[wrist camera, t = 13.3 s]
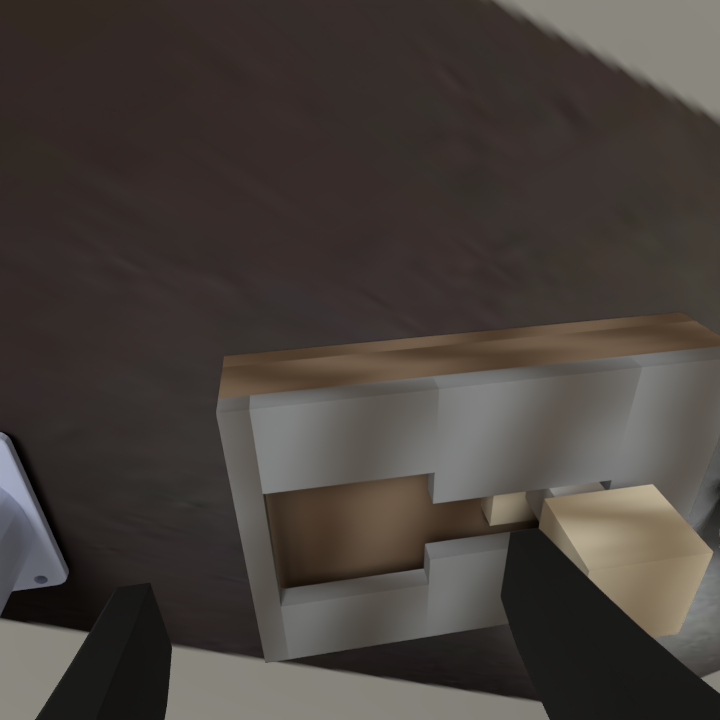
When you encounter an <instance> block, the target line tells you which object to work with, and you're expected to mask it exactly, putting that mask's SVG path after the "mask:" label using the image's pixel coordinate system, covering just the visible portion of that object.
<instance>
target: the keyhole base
mask: <svg viewBox="0 0 720 720" xmlns="http://www.w3.org/2000/svg"><path fill="white" fill-rule="evenodd" d="M216 415H217V420H218V425H219V430H220V435H221V440H222V445H223V450H224V455H225V460H226V465H227V471H228V476H229V481H230V486H231V491H232V496H233V501H234V506H235V511H236V516H237V521H238V526H239V531H240V536H241V541H242V546H243V551H244V556H245V561H246V566H247V572H248V577H249V582H250V587H251V592H252V597H253V602H254V607H255V612H256V617H257V622H258V627H259V632H260V637H261V642H262V647H263V652H264V657H265V662H266V663H268V662H274V661H281V660H287V659H293V658H299V657H305V656H312V655H318V654H324V653H330V652H336V651H343V650H349V649H355V648H361V647H367V646H374V645H380V644H386V643H392V642H398V641H405V640H411V639H417V638H423V637H429V636H436V635H442V634H448V633H454V632H460V631H467V630H473V629H479V628H485V627H491V626H498V625H504V624H509V622H508V619H507V616H506V613H505V610H504V607H503V603H502V600H501V597H500V596H501V589H502V583H503V576H504V570H505V564H506V557H507V551H508V544H509V538H510V532H515V531H522V530H529V529H536V528H539V523H540V522H539V521H538V519H536V520H528V521H521V522H514V523H507V524H500V525H492V526H490V525H489V523H488V520H487V518H486V516H485V514H484V512H483V510H482V508H481V497H488V496H496V495H503V494H511V493H518V492H526V491H533V490H541V489H549V488H556V487H564V486H571V485H579V484H586V483H594V482H600V484H601V485H602V486H603V487H604V489H605V490H613V489H620V488H628V487H635V486H642V485H650V484H653V485H654V486H655V487H656V488H657V490H658V491H659V492H660V493H661V494H662V495H663V496H664V497H665V499H666V500H667V501H668V502H669V503H670V504H671V505H672V506H673V507H674V509H675V510H676V511H677V512H678V513H679V514H680V515H681V516H682V518H683V519H684V520H685V521H686V522H687V521H688V518H689V515H690V513H691V510H692V508H693V505H694V502H695V500H696V497H697V495H698V492H699V489H700V487H701V484H702V482H703V479H704V476H705V474H706V471H707V468H708V466H709V463H710V461H711V458H712V455H713V453H714V450H715V448H716V445H717V442H718V440H719V437H720V336H718V335H717V334H715V333H714V332H712V331H710V330H709V329H707V328H706V327H704V326H702V325H701V324H699V323H698V322H696V321H694V320H693V319H691V318H690V317H688V316H686V315H685V314H683V313H682V312H679V313H669V314H658V315H648V316H637V317H627V318H617V319H606V320H596V321H585V322H575V323H564V324H554V325H544V326H533V327H523V328H512V329H502V330H491V331H481V332H471V333H460V334H450V335H439V336H429V337H418V338H408V339H398V340H387V341H377V342H366V343H356V344H345V345H335V346H325V347H314V348H304V349H293V350H283V351H272V352H262V353H252V354H241V355H231V356H224V361H223V368H222V375H221V383H220V390H219V397H218V404H217V411H216Z"/></svg>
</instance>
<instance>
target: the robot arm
mask: <svg viewBox="0 0 720 720" xmlns="http://www.w3.org/2000/svg"><path fill="white" fill-rule="evenodd" d="M68 574H69V570H68V567H67V565H66V563H65V561H64V558H63V556H62V554H61V552H60V549H59V547H58V545H57V543H56V540H55V538H54V536H53V534H52V531H51V529H50V527H49V525H48V522H47V520H46V518H45V516H44V513H43V511H42V509H41V507H40V504H39V502H38V500H37V498H36V495H35V493H34V491H33V489H32V486H31V484H30V482H29V480H28V477H27V475H26V473H25V471H24V468H23V466H22V464H21V462H20V459H19V457H18V455H17V453H16V450H15V448H14V446H13V444H12V441H11V440H10V438H9V437H8V436H7V435H5V434H4V433H1V432H0V615H1V613H2V611H3V609H4V607H5V605H6V602H7V600H8V598H9V596H10V594H11V592H12V591H18V590H25V589H32V588H39V587H46V586H54V585H59V584H62V583H63V582H65V581H66V579H67V576H68ZM500 597H501V600H502V603H503V607H504V610H505V613H506V616H507V619H508V622H509V625H510V628H511V631H512V634H513V637H514V640H515V643H516V646H517V648H518V651H519V653H520V655H521V657H522V660H523V662H524V664H525V666H526V669H527V671H528V673H529V675H530V677H531V680H532V682H533V684H534V686H535V689H536V691H537V693H538V695H539V697H540V699H541V702H542V704H543V706H544V708H545V710H546V713H547V714H548V717H549V719H550V720H720V693H718V692H717V691H716V690H714V689H713V688H712V687H711V686H709V685H708V684H707V683H706V682H704V681H703V680H702V679H701V678H699V677H698V676H697V675H696V674H695V673H693V672H692V671H691V670H690V669H689V668H687V667H686V666H685V665H684V664H682V663H681V662H680V661H679V660H678V659H677V658H675V657H674V656H673V655H672V654H671V653H670V652H668V651H667V650H666V649H665V648H664V647H663V646H662V645H660V644H659V643H658V642H657V641H656V640H655V639H653V638H652V637H651V636H650V635H649V634H648V633H647V632H646V631H645V630H643V629H642V628H641V627H640V626H639V625H638V624H637V623H636V622H635V621H634V620H632V619H631V618H630V617H629V616H628V615H627V614H626V613H625V612H624V611H623V610H622V609H621V608H620V607H618V606H617V605H616V604H615V603H614V602H613V601H612V600H611V599H610V598H609V597H608V596H607V595H606V594H605V593H604V592H603V591H602V590H601V589H599V588H598V587H597V586H596V585H595V584H594V583H593V582H592V581H591V580H590V579H589V578H588V577H587V576H586V575H585V574H584V573H583V572H582V571H581V570H580V569H579V568H578V567H577V566H576V565H575V564H574V563H573V562H572V561H571V560H570V559H569V558H568V557H567V556H566V555H565V554H564V553H563V552H562V551H561V550H560V549H559V548H558V547H557V546H556V545H555V544H554V543H553V542H552V541H551V540H550V539H549V537H548V536H547V535H546V534H545V533H544V532H543V531H541V530H540V529H539V528H536V529H529V530H522V531H515V532H510V538H509V544H508V551H507V557H506V564H505V570H504V576H503V583H502V589H501V596H500ZM171 653H172V646H171V643H170V640H169V637H168V634H167V631H166V628H165V625H164V623H163V620H162V617H161V614H160V611H159V608H158V605H157V602H156V599H155V596H154V593H153V590H152V587H151V584H150V583H146V584H139V585H132V586H125V587H118V588H116V589H115V590H114V591H113V592H112V594H111V596H110V598H109V600H108V601H107V603H106V605H105V607H104V608H103V610H102V612H101V614H100V615H99V617H98V619H97V621H96V622H95V624H94V626H93V628H92V629H91V631H90V633H89V634H88V636H87V638H86V639H85V641H84V643H83V644H82V646H81V648H80V649H79V651H78V653H77V654H76V656H75V658H74V659H73V661H72V663H71V664H70V666H69V668H68V669H67V671H66V672H65V674H64V675H63V677H62V679H61V680H60V682H59V683H58V685H57V687H56V688H55V690H54V691H53V693H52V694H51V696H50V698H49V699H48V701H47V702H46V704H45V706H44V707H43V708H42V710H41V712H40V713H39V715H38V716H37V718H36V719H35V720H164V719H165V713H166V707H167V699H168V689H169V678H170V666H171Z"/></svg>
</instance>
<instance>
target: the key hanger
mask: <svg viewBox="0 0 720 720" xmlns="http://www.w3.org/2000/svg"><path fill="white" fill-rule="evenodd" d="M481 508H482V510H483V512H484V514H485V516H486V518H487V520H488V523H489V525H490V526H492V525H500V524H507V523H514V522H521V521H528V520H536V519H538V521H539V522H540V523H539V529H540V530H541V531H543V532H544V533H545V534H546V535H547V536H548V537H549V539H550V540H551V541H552V542H553V543H554V544H555V545H556V546H557V547H558V548H559V549H560V550H561V551H562V552H563V553H564V554H565V555H566V556H567V557H568V558H569V559H570V560H571V561H572V562H573V563H574V564H575V565H576V566H577V567H578V568H579V569H580V570H581V571H582V572H583V573H584V574H585V575H586V576H587V577H588V578H589V579H590V580H591V581H592V582H593V583H594V584H595V585H596V586H597V587H598V588H599V589H601V590H602V591H603V592H604V593H605V594H606V595H607V596H608V597H609V598H610V599H611V600H612V601H613V602H614V603H615V604H616V605H617V606H618V607H620V608H621V609H622V610H623V611H624V612H625V613H626V614H627V615H628V616H629V617H630V618H631V619H632V620H634V621H635V622H636V623H637V624H638V625H639V626H640V627H641V628H642V629H643V630H645V631H646V632H647V633H648V634H649V635H650V636H651V637H652V638H654V637H660V636H666V635H672V634H678V633H679V631H680V629H681V626H682V624H683V622H684V619H685V617H686V615H687V612H688V610H689V608H690V605H691V603H692V601H693V599H694V596H695V594H696V592H697V589H698V587H699V585H700V582H701V580H702V578H703V576H704V573H705V571H706V569H707V566H708V564H709V562H710V559H711V557H712V555H713V551H712V550H711V549H710V548H709V547H708V545H707V544H706V543H705V542H704V541H703V540H702V539H701V538H700V537H699V535H698V534H697V533H696V532H695V531H694V530H693V529H692V528H691V526H690V525H689V524H688V523H687V522H686V521H685V520H684V519H683V518H682V516H681V515H680V514H679V513H678V512H677V511H676V510H675V509H674V507H673V506H672V505H671V504H670V503H669V502H668V501H667V500H666V499H665V497H664V496H663V495H662V494H661V493H660V492H659V491H658V490H657V488H656V487H655V486H654V485H653V484H650V485H642V486H635V487H628V488H620V489H613V490H605V489H604V487H603V486H602V485H601V484H600V482H594V483H586V484H579V485H571V486H564V487H556V488H549V489H541V490H533V491H526V492H518V493H511V494H503V495H496V496H488V497H481Z"/></svg>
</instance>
